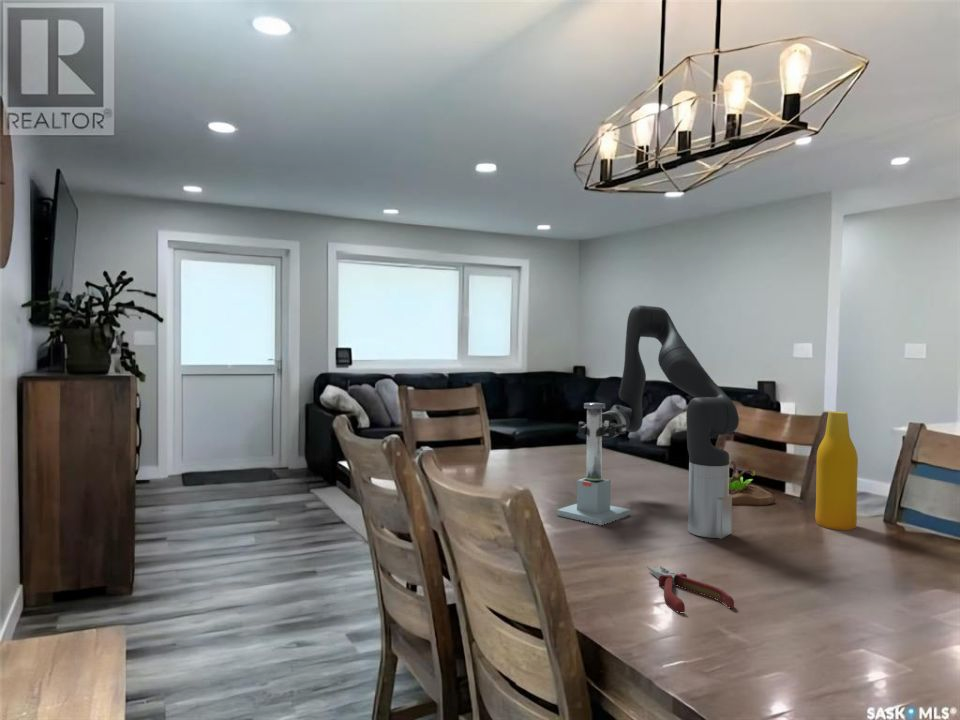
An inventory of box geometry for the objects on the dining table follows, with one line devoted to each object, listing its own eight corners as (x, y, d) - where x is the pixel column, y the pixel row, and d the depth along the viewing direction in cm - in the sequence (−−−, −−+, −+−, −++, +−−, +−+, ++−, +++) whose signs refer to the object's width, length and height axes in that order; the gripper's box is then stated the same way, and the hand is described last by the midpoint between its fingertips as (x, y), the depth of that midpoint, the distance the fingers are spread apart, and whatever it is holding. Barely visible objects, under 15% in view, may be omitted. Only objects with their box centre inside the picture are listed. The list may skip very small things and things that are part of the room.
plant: (757, 491, 200) (757, 456, 200) (781, 507, 181) (782, 468, 181) (692, 489, 202) (693, 454, 202) (710, 505, 182) (711, 466, 182)
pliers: (679, 570, 130) (679, 558, 130) (737, 611, 110) (737, 597, 110) (627, 574, 128) (627, 562, 128) (677, 617, 108) (677, 602, 108)
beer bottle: (815, 527, 159) (817, 413, 159) (815, 518, 168) (817, 409, 167) (857, 532, 155) (860, 415, 154) (855, 523, 163) (857, 411, 163)
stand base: (629, 514, 170) (630, 479, 170) (601, 525, 160) (602, 488, 160) (586, 505, 180) (586, 472, 180) (556, 515, 170) (557, 480, 169)
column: (608, 482, 170) (609, 403, 169) (597, 485, 166) (597, 405, 165) (590, 479, 174) (591, 402, 173) (579, 482, 170) (579, 403, 169)
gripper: (586, 410, 185) (565, 416, 170) (634, 412, 179) (617, 419, 163) (585, 435, 185) (565, 443, 170) (634, 439, 179) (617, 448, 164)
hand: (591, 431), depth 167 cm, fingers closed on column, 4 cm apart
